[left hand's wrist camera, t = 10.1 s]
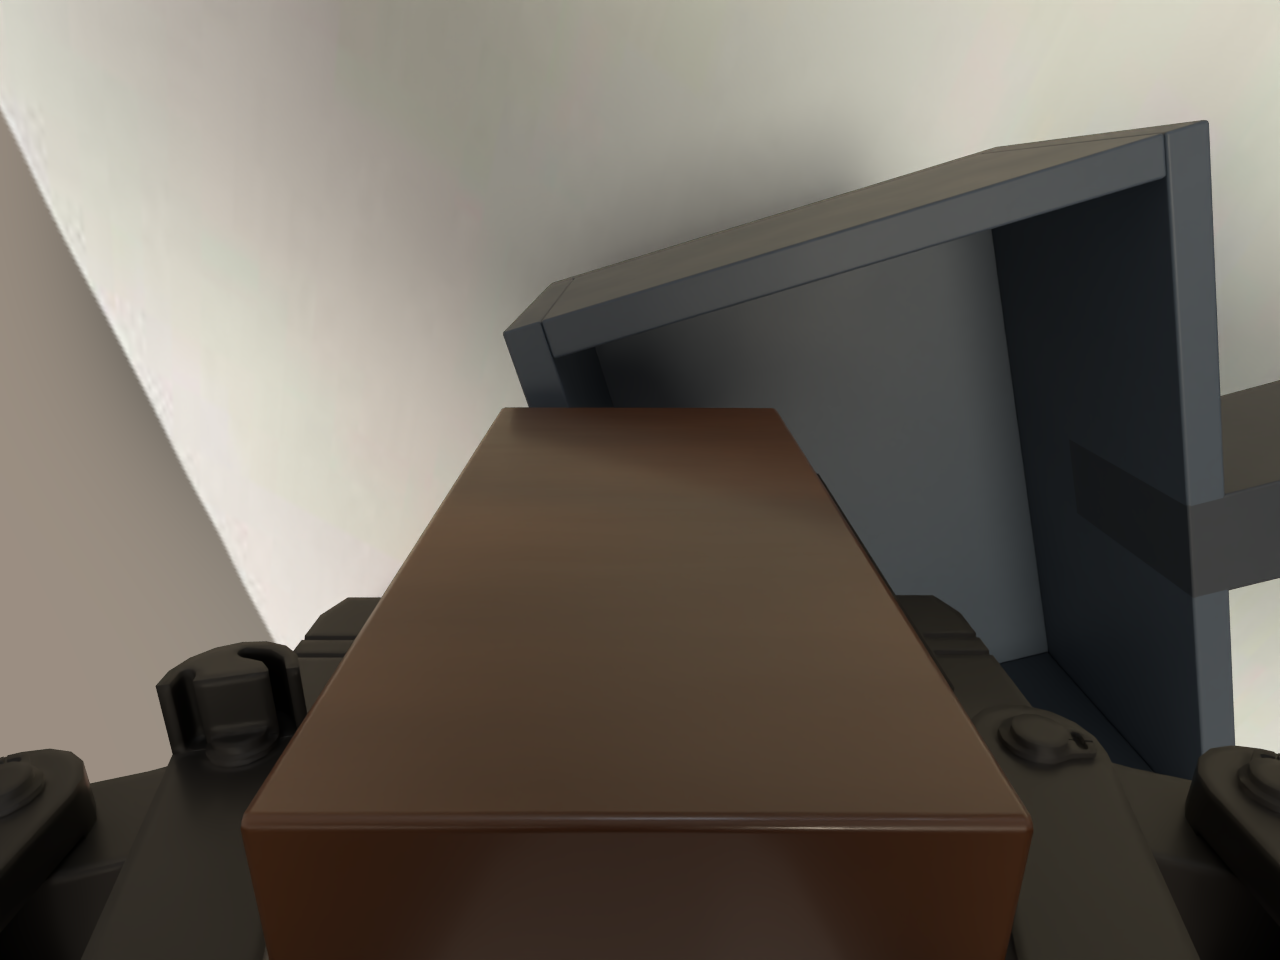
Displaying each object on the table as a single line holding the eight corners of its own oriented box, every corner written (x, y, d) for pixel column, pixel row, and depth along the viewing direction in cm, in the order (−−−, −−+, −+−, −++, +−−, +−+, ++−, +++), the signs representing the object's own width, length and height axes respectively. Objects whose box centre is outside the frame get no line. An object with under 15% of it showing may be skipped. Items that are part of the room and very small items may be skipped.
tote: (699, 739, 30) (723, 956, 21) (550, 283, 24) (502, 332, 15) (1462, 554, 27) (1836, 718, 19) (1503, -9, 21) (2070, -142, 13)
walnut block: (515, 645, 16) (337, 1292, 7) (501, 406, 14) (230, 820, 5) (761, 645, 16) (935, 1295, 7) (776, 406, 14) (1042, 822, 5)
